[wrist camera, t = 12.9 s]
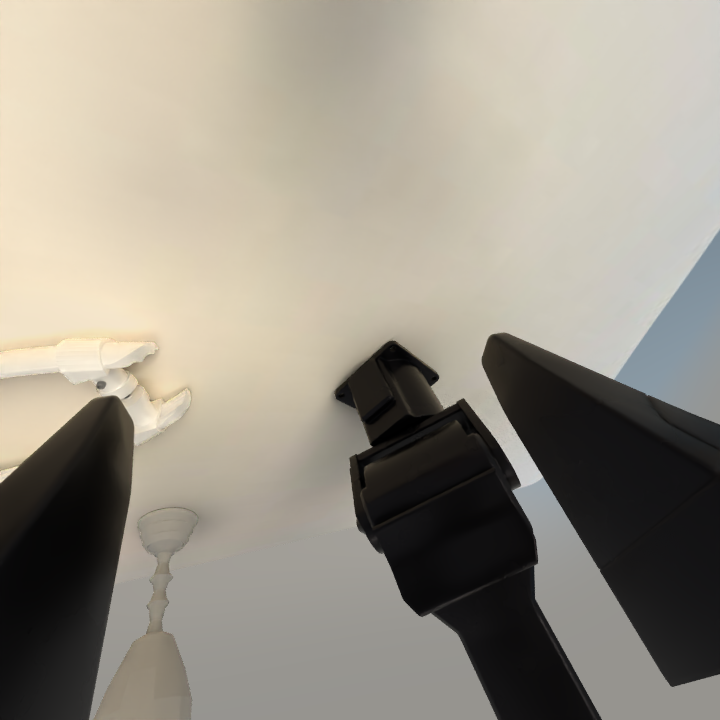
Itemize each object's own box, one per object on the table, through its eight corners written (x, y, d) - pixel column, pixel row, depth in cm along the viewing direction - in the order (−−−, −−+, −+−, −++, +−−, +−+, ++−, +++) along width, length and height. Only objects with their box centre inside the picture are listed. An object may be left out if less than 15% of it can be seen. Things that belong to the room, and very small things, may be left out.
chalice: (209, 535, 37) (198, 805, 23) (132, 547, 34) (72, 855, 21) (206, 496, 32) (190, 801, 19) (118, 507, 30) (31, 862, 17)
